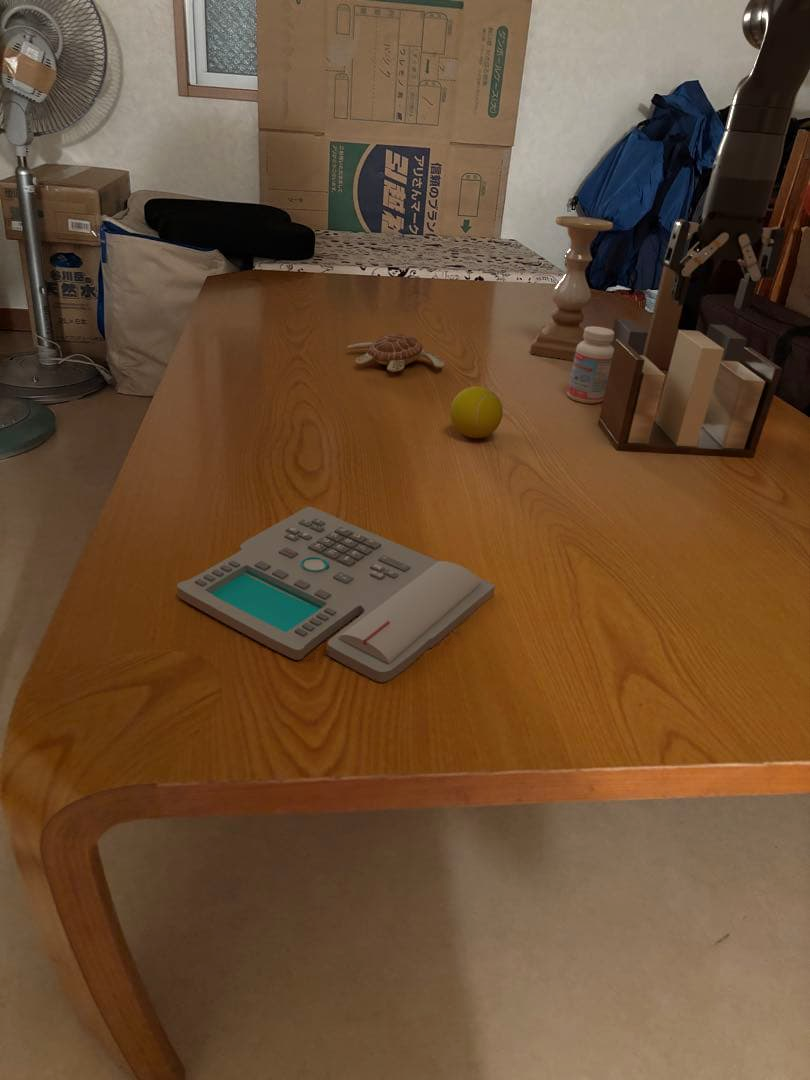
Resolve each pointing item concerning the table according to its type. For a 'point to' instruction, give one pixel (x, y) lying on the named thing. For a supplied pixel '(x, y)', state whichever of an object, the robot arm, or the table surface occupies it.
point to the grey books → (717, 333)
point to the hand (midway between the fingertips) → (708, 306)
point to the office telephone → (337, 594)
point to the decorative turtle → (395, 352)
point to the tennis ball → (476, 412)
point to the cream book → (688, 387)
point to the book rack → (729, 413)
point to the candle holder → (570, 291)
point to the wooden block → (663, 324)
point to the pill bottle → (591, 366)
